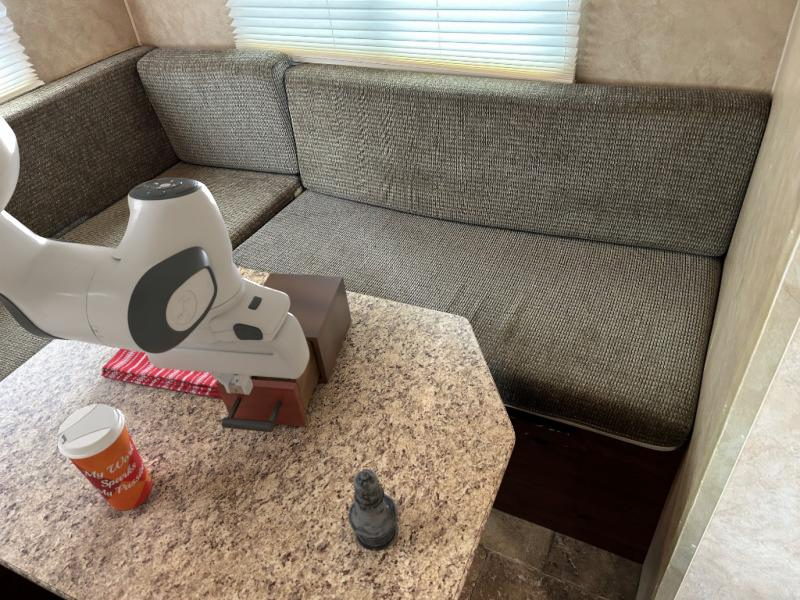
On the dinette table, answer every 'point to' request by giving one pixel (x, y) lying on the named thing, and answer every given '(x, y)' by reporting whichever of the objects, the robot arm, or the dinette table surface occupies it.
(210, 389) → the dish towel
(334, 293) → the cabinet
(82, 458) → the paper cup
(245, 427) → the drawer
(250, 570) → the dinette table surface
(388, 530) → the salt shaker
